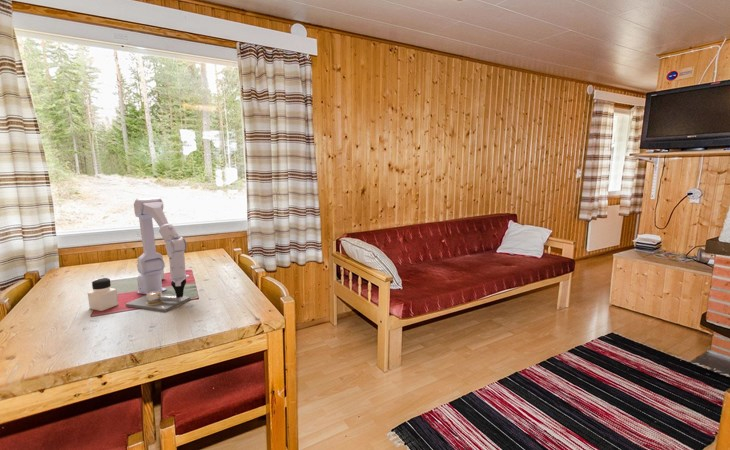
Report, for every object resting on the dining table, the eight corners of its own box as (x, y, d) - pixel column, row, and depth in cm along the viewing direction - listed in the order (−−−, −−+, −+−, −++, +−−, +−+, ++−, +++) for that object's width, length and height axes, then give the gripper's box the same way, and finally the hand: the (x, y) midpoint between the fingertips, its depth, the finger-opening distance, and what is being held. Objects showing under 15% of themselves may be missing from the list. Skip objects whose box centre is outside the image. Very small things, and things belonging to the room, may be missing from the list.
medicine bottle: (118, 305, 150) (115, 277, 148) (101, 311, 144) (98, 283, 141) (106, 302, 152) (103, 275, 150) (89, 308, 146) (85, 280, 144)
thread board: (125, 306, 149) (125, 303, 149) (153, 294, 162) (153, 291, 162) (165, 312, 144) (165, 309, 144) (190, 299, 157) (190, 296, 157)
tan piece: (144, 303, 148) (143, 294, 148) (153, 298, 154) (152, 289, 153) (176, 305, 147) (175, 296, 146) (184, 300, 152) (183, 291, 152)
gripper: (188, 270, 146) (190, 301, 148) (188, 261, 159) (190, 290, 161) (168, 272, 143) (171, 304, 145) (170, 262, 155) (172, 292, 158)
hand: (179, 297), depth 153 cm, fingers closed
